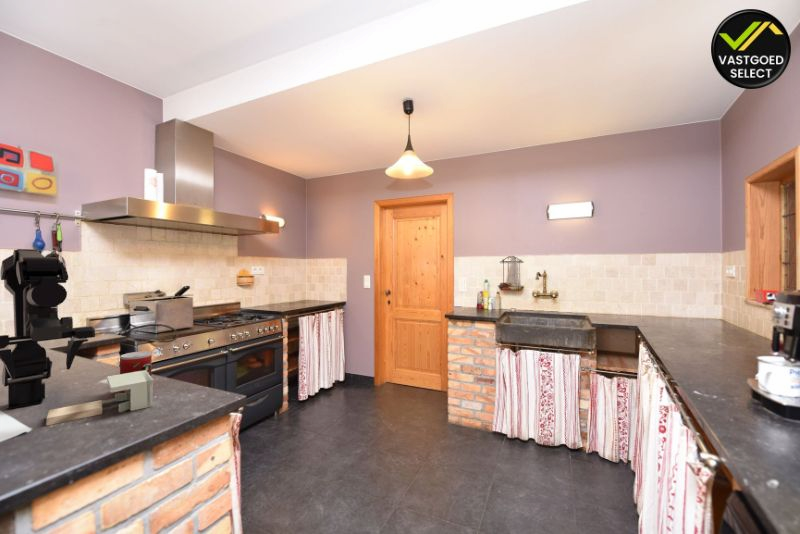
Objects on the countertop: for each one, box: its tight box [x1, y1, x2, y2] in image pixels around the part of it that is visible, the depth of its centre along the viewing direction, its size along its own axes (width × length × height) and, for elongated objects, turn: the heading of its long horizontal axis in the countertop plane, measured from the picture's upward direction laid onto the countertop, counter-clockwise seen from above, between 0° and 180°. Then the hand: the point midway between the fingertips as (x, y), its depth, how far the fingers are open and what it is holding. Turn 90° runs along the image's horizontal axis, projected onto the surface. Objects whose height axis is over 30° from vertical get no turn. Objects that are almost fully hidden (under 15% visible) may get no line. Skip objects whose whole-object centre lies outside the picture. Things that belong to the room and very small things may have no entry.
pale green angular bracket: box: [106, 370, 154, 413], centre depth 95 cm, size 9×13×7 cm
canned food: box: [119, 350, 153, 393], centre depth 106 cm, size 8×8×11 cm
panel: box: [46, 399, 103, 426], centre depth 87 cm, size 10×6×2 cm, turn 132°
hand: (41, 373), depth 82 cm, fingers open, 9 cm apart
